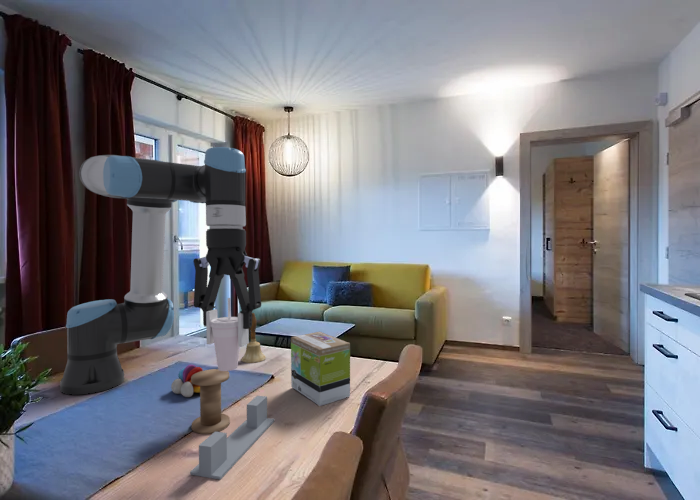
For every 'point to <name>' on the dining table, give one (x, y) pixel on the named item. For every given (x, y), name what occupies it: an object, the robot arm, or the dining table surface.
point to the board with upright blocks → (232, 442)
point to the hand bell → (253, 347)
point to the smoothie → (226, 340)
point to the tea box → (320, 367)
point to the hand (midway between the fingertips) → (227, 343)
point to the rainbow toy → (186, 381)
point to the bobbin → (210, 401)
